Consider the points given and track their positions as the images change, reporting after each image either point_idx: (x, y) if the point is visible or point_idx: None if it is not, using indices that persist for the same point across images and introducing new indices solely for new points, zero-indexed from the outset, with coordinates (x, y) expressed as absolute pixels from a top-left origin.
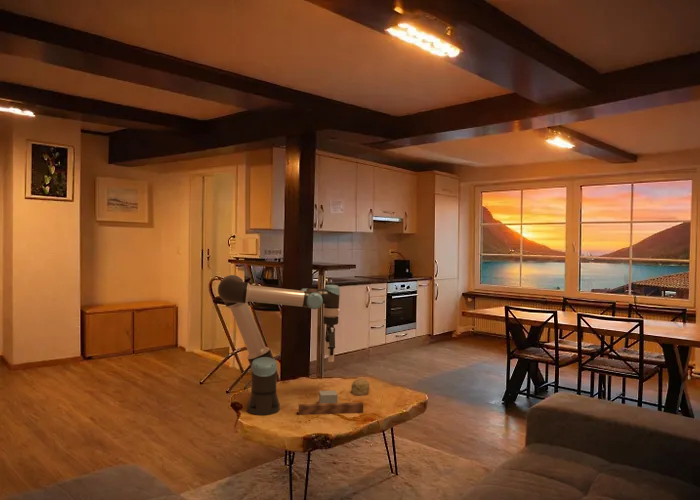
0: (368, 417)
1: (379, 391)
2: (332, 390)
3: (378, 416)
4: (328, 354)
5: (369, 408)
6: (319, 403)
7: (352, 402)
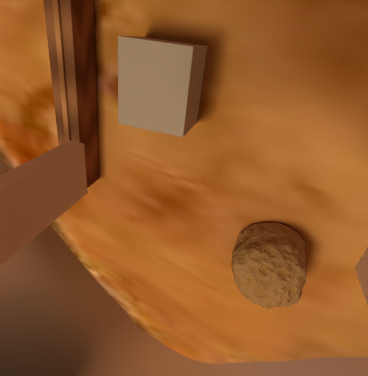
0: None
1: None
2: (183, 122)
3: None
4: (28, 174)
5: (114, 206)
6: (70, 11)
7: None
